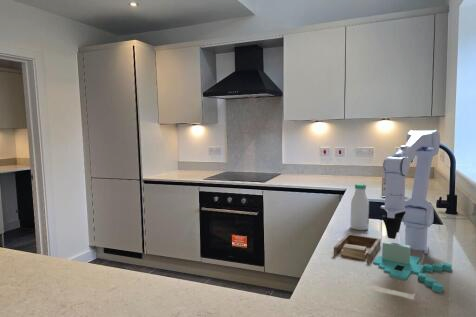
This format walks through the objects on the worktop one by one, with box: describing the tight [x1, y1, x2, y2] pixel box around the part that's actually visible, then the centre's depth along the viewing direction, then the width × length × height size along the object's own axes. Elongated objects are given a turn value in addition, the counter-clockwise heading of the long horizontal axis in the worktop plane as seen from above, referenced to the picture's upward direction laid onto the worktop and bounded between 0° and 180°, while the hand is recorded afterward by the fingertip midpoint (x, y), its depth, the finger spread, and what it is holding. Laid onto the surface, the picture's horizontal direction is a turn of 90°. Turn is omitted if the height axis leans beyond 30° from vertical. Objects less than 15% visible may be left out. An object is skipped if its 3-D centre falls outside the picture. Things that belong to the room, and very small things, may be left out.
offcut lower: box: [341, 249, 368, 259], centre depth 115 cm, size 4×8×2 cm, turn 57°
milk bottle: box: [350, 183, 370, 231], centre depth 150 cm, size 8×8×20 cm
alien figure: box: [372, 255, 453, 294], centre depth 104 cm, size 20×2×20 cm
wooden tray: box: [333, 233, 382, 264], centre depth 119 cm, size 18×12×4 cm, turn 147°
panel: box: [381, 241, 411, 264], centre depth 109 cm, size 2×8×6 cm, turn 57°
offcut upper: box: [343, 244, 366, 254], centre depth 115 cm, size 4×7×2 cm, turn 61°
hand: (393, 235), depth 109 cm, fingers open, 7 cm apart
